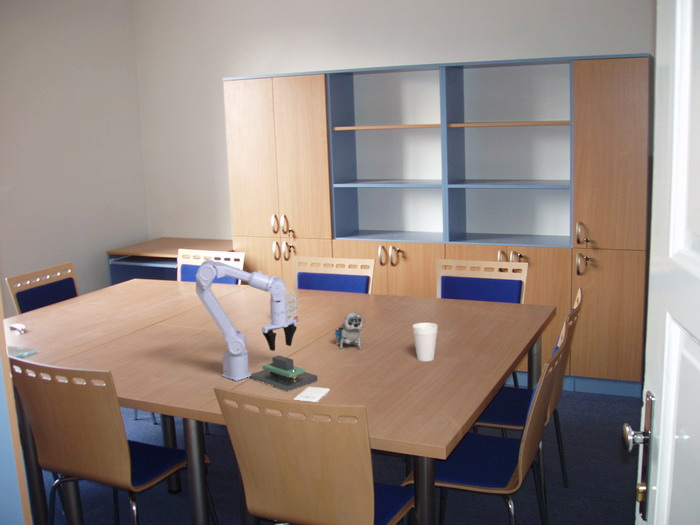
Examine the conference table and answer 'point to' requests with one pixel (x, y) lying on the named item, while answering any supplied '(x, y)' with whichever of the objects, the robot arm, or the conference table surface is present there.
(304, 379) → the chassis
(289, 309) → the ink cartridge box
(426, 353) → the foam cup
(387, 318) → the conference table surface
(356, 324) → the robotic toy
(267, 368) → the board
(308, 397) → the external hard drive
